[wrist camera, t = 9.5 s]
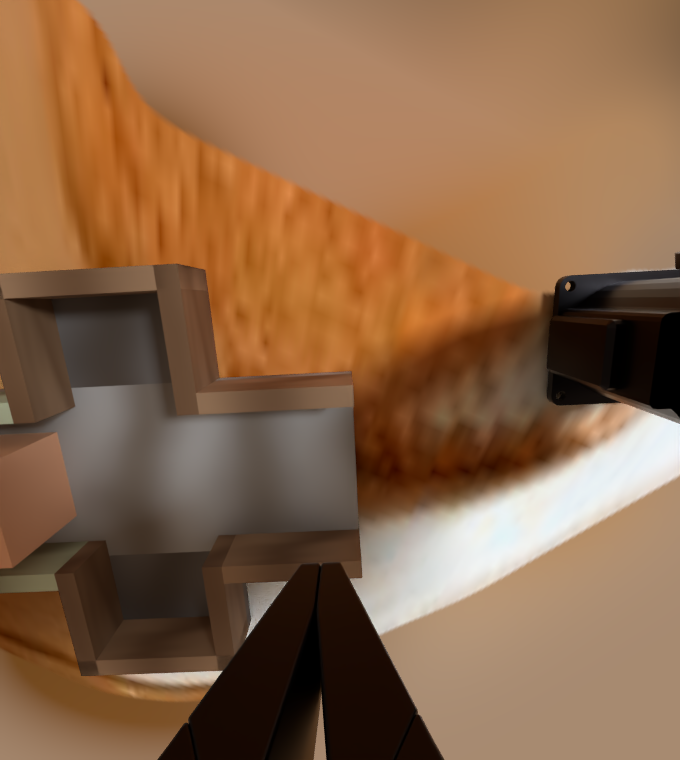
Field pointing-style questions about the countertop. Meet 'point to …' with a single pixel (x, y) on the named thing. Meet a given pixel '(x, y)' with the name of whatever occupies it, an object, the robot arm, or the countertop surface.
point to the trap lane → (168, 465)
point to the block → (31, 494)
